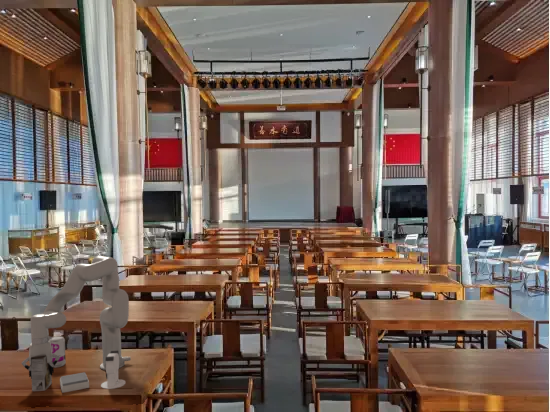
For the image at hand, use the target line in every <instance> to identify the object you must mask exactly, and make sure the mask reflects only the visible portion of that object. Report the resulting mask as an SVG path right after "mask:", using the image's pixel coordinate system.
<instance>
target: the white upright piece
mask: <svg viewBox="0 0 550 412" xmlns="http://www.w3.org/2000/svg"><path fill="white" fill-rule="evenodd" d="M118 355H119V351H111V352H110V354H108V356H107V357H106V364H105V368H106V370H105V372H106V374H105V378H106V380H105V381H103V382H102V383H101V384H100V387H101V388H102V389H105V390H115V389H118V388H121V387H123V386H125V385H126V380H124V379H121V378H120V379H119V369H120V368H119V356H118Z"/></svg>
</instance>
